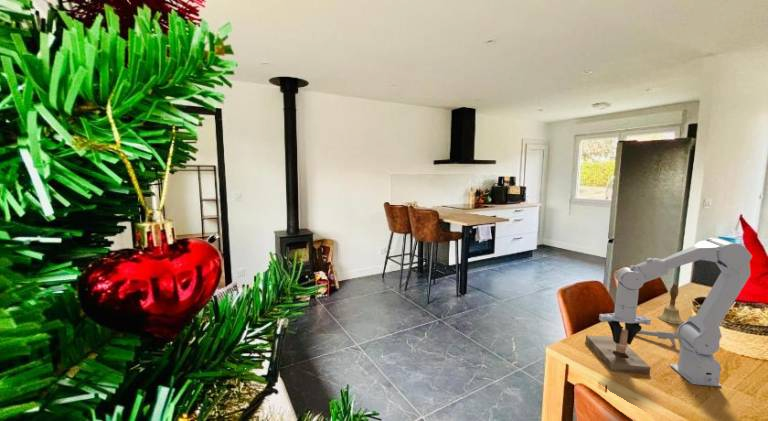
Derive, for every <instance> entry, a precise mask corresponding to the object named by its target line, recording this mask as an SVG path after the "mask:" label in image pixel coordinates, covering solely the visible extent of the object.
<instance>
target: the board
mask: <svg viewBox="0 0 768 421" xmlns="http://www.w3.org/2000/svg"><path fill="white" fill-rule="evenodd" d="M585 342H586V343H587V345H588V346H590V348H591V349H592V350H593V351H594V353H596V355H597V356H598V357H599V358H600V360H601V361H603V363H604V364H605V365H606V367H608V368H609V370H610V371H611V372H621V373H629V372H633V373H632V374H640V373H641V374H643V375H650V374H651V366H650V364H648V363H647V362H646V361H645V360H643V359H642V357H640V356H639V355H638V353H636V352H635V351H634V350H632V349H631V347H629V346H628V345H627V347H626V350H625V353H619V352H617V351H616V343H615V342H614V341H613V336H606V335H605V336H603V335H592V334H586V335H585Z"/></svg>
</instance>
